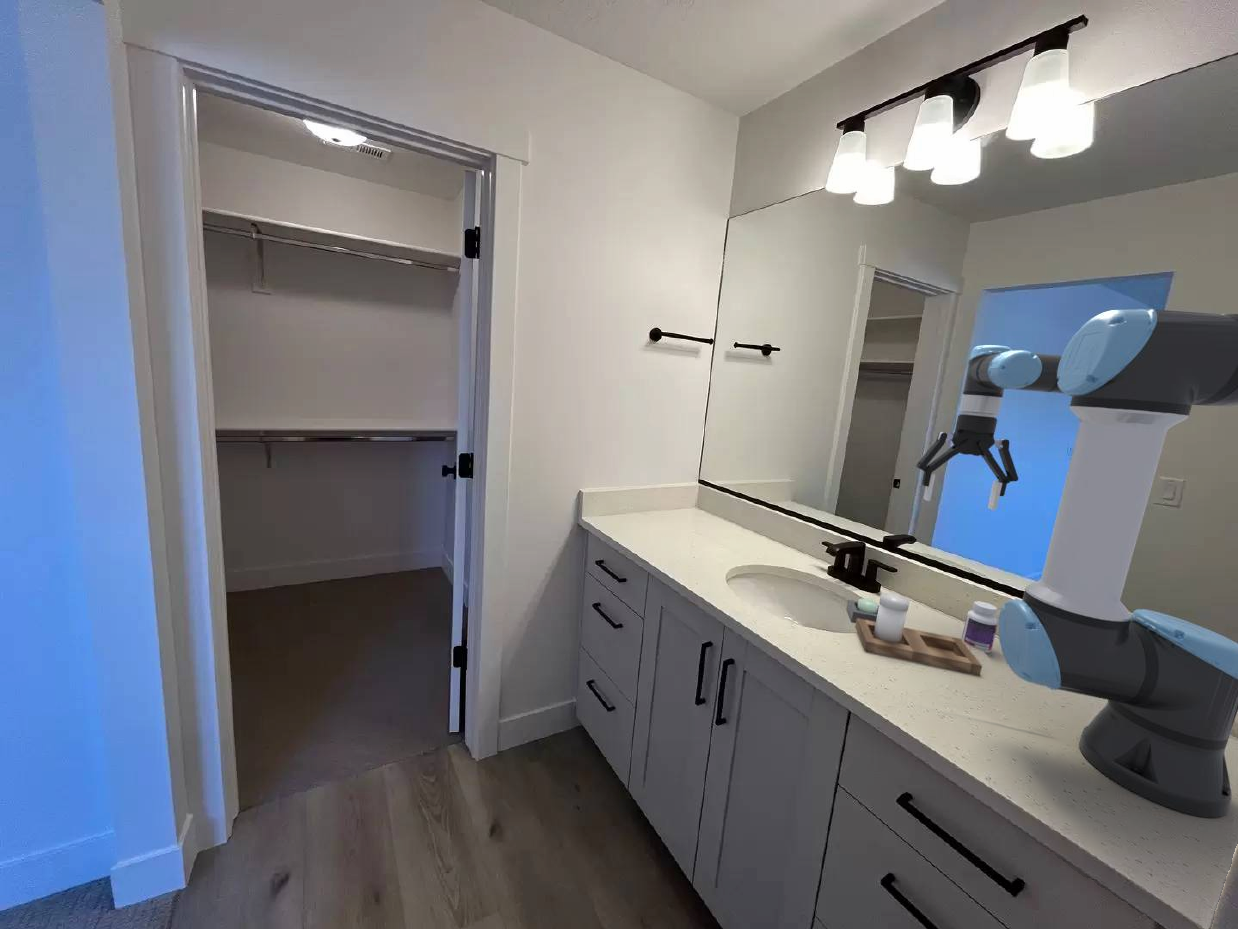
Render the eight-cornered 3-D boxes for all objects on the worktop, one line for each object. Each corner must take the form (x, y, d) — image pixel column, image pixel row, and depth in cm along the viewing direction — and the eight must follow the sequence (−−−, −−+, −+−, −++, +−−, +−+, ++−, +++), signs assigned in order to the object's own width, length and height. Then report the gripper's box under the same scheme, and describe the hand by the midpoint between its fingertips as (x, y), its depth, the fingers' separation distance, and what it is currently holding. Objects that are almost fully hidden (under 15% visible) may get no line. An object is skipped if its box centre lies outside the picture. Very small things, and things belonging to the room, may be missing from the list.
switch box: (884, 633, 111) (887, 618, 110) (850, 626, 113) (853, 611, 112) (877, 619, 117) (880, 605, 117) (845, 613, 119) (848, 599, 119)
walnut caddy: (957, 652, 105) (960, 638, 105) (978, 680, 95) (982, 665, 94) (854, 630, 110) (856, 618, 110) (864, 655, 100) (866, 641, 100)
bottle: (903, 652, 101) (912, 605, 99) (874, 646, 102) (884, 600, 100) (896, 640, 106) (905, 595, 104) (869, 635, 107) (878, 590, 105)
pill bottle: (996, 656, 105) (1006, 612, 104) (967, 651, 106) (977, 608, 105) (983, 643, 111) (992, 602, 109) (956, 639, 112) (965, 597, 110)
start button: (877, 621, 112) (879, 607, 112) (857, 617, 113) (860, 604, 113) (873, 613, 116) (875, 600, 116) (854, 610, 117) (857, 597, 117)
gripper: (1033, 420, 116) (1012, 509, 119) (913, 408, 123) (896, 493, 126) (1050, 422, 109) (1028, 516, 112) (922, 409, 115) (904, 499, 119)
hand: (958, 504), depth 119 cm, fingers open, 13 cm apart
